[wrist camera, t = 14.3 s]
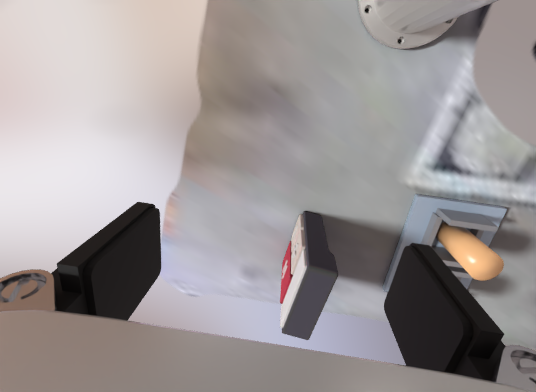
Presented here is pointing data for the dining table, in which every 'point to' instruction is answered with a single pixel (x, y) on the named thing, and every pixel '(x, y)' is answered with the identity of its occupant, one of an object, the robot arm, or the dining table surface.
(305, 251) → the dark grey slab
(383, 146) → the dining table surface
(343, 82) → the dining table surface
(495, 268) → the tan capsule rod
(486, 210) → the housing
